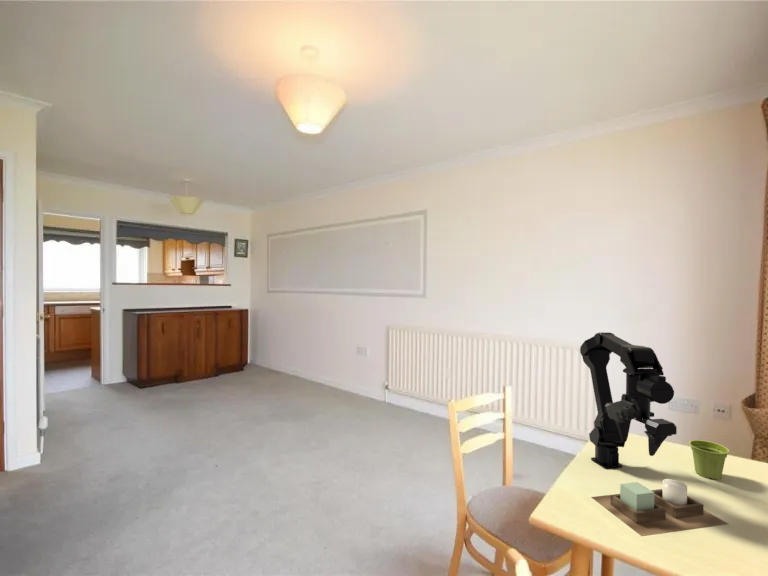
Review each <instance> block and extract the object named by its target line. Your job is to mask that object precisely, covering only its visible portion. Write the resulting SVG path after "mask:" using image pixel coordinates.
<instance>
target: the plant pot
mask: <svg viewBox="0 0 768 576" xmlns="http://www.w3.org/2000/svg"><path fill="white" fill-rule="evenodd" d="M688 444H689V446H690V449H691V451H692V456H693V465H694V472H695V473H696V474H697V475H699V476H701V477H703V478H709V479H712V480H720V479H722V477H723V470H724V467H725V462H726V458H727V457H728V454H730V449H729V448H727V446H724V445H722V444H720V443H717V442H713V441H708V440H703V439H702V440H701V439H694V440H690V441H689V442H688Z"/></svg>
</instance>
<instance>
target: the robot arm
mask: <svg viewBox="0 0 768 576" xmlns="http://www.w3.org/2000/svg"><path fill="white" fill-rule="evenodd" d="M579 352H580V354H581V357H582V361H583V362H584V364H585V365H586V366H587V367H588V368H589V371H590V377H591V382H592V383H591V384H592V388H593V393H594V398H595V399H594V400H595V404H596V410H597V415H596V417H595V419H594V420H593V426H594V427H593V428H592V430H591V431H590V432H589V437H588V438H589V441H590V442H591V443H592V444H593V445H594V447H595V449H594V451H595V452H594V457H590V460H592V461H593V462H595V463H596V464H597V465H599V466H600V467H602V468H604V469H613V468H622V467H623V464H622V463H620V452H619V448H625V444H626V442H627V440H628V437H629V433H630V427H631V423H632V420H634V421H637V422H639V423H641V424H644V428H645V430H644V431H643V432H644V434H645V435H646V436H647V439H648V441H647V442H648V454H649V456H650V457H653V456H655V454H656V453H657V451H658V450H659V448H660V447H661V446H662V444H663V443H664V441H665V440H666V439H667V438H668V437H671V436H673V435H677V434H678V433H677V430H678V429H677V425H676V423H674V422H672V421H669V420H667V419H664V418H653V417H655V412H652V411H651V403H657V404H660V405H661V404H663V405H664V404H667V403H669V402H671V401H672V399H673V398H674V397H675V396H674V395H675V390H674V387H673V386H672V384H670V383H669V382H667V381H666V380H667V377H666V376H665V375H664V374H665V373H664V371H663V366H662V365H661V363H660V361H659V359H658V356H657V354H656V352H655V351H654V350H653V349H652V347H649V346H648V347H647V346H644V345H636V344H632V343H630V342H628V341H627V340H624V339H622V338H620V337H618V336H617V335H616V334H614V333H612V332H596V333H595V334H594V336H591V337H590V338H588V339H585V340H584V342H583V343H582V344H581V345H580V348H579ZM612 353H613V354H615V355H616V356H618V357H619V358H620V359H619V362H620V363H621V364H623V365H624V366H625V368H623V369H622V372H623V373H625V378H626V380H625V388H626V389H625V393H622V395H621V399H620V400H619V401H615V402H614V401H613V397H612V391H611V386H610V381H609V375H608V374H609V373H608V371H607V370H608V369H607V366H608V364H609V362H610V360H611V358H610V357H611V354H612ZM652 418H653V419H652Z"/></svg>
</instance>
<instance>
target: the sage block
mask: <svg viewBox="0 0 768 576" xmlns="http://www.w3.org/2000/svg"><path fill="white" fill-rule="evenodd" d="M619 490H620V491H619V494H620V500H622V501H623V502H625V503H626V504H627V505H629V506H630V507H632V508H633V509H634V510H636V511H642V510H650V509H654V492H653V491H651V490H652V489H649V488H648V487H646V486H645V485H643V484H641V483H640V482H638V481H636V482H634V481H633V482H625V483H620V487H619Z"/></svg>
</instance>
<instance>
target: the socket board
mask: <svg viewBox="0 0 768 576" xmlns="http://www.w3.org/2000/svg"><path fill="white" fill-rule="evenodd" d="M650 490H651V491H653V492H654V509H650V510H642V511H636V510H634V509H633V508H632V507H630V506H629V505H627V504H626V503H625V502H623V501H622V500H620V493H616V494H607V495H599V496H591V498H592V500H594V501H595V502H597V503H598V504H599V505H600V506H602V507H603V508H604V509H606V510H607V511H608V512H609V513H611V514H612V515H613V516H615V517H616V518H617V519H619V520H620V521H621V522H622V523H624V524H625V525H626V526H628V527H629V528H630V529H632V530H633V531H634V532H635V533H637V534H638V535H639V536H640V537H645V536H652V535H660V534H667V533H668V534H669V533H675V532H681V531H687V530H696V529H703V528H711V527H718V526H725V525H729V523H728V522H726V521H724V520H722V519H721V518H719V517H717V516H716V515H714V514H712V513H711V512H709V511H707V510H705V509H704V504H702V503H701V502H699V501H697V500H696V499H694V498H692V497H690V496H688V495H687V505H682V506H674V505H673V504H671V503H669V502H668V501H666V500H664V499H663V498H662V488H661V489H660V488H659V489H653V490H652V489H650Z"/></svg>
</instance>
